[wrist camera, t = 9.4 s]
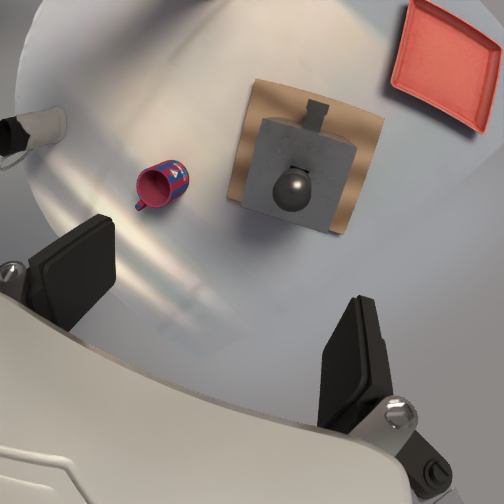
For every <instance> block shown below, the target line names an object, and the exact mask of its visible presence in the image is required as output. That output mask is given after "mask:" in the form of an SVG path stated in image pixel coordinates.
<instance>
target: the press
mask: <svg viewBox="0 0 504 504" xmlns="http://www.w3.org/2000/svg"><path fill="white" fill-rule="evenodd" d="M329 106H330V105H328V104H324V103H321V102H318V101H315V100H311V99H308V103H307V106H306V109H307V113H306V116H305V120H304V123H300V122H297V121H293V120H290V119H286V118H282V117H270V118H262V122H261V125H260V129H259V133H258V137H257V141H256V145H255V149H254V153H253V157H252V161H251V165H250V169H249V173H248V177H247V181H246V185H245V189H244V193H243V197H242V201H241V205H240V206H241V207H244V208H247V209H250V210H254V211H257V212H260V213H263V214H267V215H270V216H273V217H276V218H279V219H283V220H286V221H289V222H292V223H295V224H298V225H301V226H304V227H308V228H311V229H314V230H317V231H320V232H323V233H326V234H327V233H328V231H329V228H330V225H331V223H332V220H333V217H334V215H335V212H336V209H337V207H338V204H339V201H340V198H341V195H342V193H343V190H344V187H345V184H346V181H347V178H348V175H349V173H350V170H351V167H352V164H353V161H354V158H355V155H356V152H357V149H358V147H356V146H355V145H354V144H353V143H351V142H350V141H349V140H348V139H347V138H345V137H343V136H341V135H338V134H335V133H332V132H329V131H326V130H323V129H321V127H322V124H323V120H324V117H325V115H327V113H328V110H329ZM290 166H294V167H298V168H301V169H304V170H307V171H309V172H308V176H309V177H310V179H311V183H312V190H311V199H310V202H309V203H308V205H307V206H306V207H305V208H304V209H302V210H300V211H297V212H287V211H284V210H282V209H281V208H280V207H278V206H277V204H276V203H275V201H274V199H273V195H272V191H273V187H274V184H275V183H276V181H277V179H278V178H279V176H280V175H281V173H283V172H284V171H285V170H287V169H290Z"/></svg>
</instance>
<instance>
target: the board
mask: <svg viewBox="0 0 504 504" xmlns="http://www.w3.org/2000/svg"><path fill="white" fill-rule="evenodd" d="M308 99H311V100H315V101H318V102H321V103H324V104H328V105H330V106H329V110H328V113H327V115H325V117H324V120H323V124H322V127H321V129H323V130H326V131H329V132H332V133H335V134H338V135H341V136H343V137H345V138H347V139H348V140H349V141H350V142H351V143H353V144H354V145H355V146H356V147H358V149H357V152H356V155H355V158H354V161H353V164H352V167H351V170H350V173H349V175H348V178H347V181H346V184H345V187H344V190H343V193H342V195H341V198H340V201H339V204H338V207H337V209H336V212H335V215H334V217H333V220H332V223H331V225H330V228H329V230H331V231H334V232H337V233H340V234H343V235H344V232H345V230H346V227H347V225H348V222H349V220H350V217H351V215H352V212H353V210H354V207H355V204H356V202H357V199H358V196H359V194H360V191H361V188H362V185H363V183H364V180H365V177H366V174H367V171H368V169H369V166H370V163H371V160H372V157H373V154H374V151H375V148H376V145H377V142H378V139H379V136H380V133H381V129H382V126H383V123H384V120H385V118H383V117H380V116H378V115H375V114H373V113H370V112H368V111H365V110H362V109H360V108H357V107H354V106H351V105H349V104H346V103H343V102H340V101H337V100H334V99H331V98H328V97H324V96H321V95H318V94H315V93H311V92H308V91H304V90H301V89H297V88H293V87H289V86H286V85H282V84H277V83H273V82H269V81H264V80H260V79H255V83H254V87H253V91H252V95H251V99H250V102H249V106H248V110H247V114H246V118H245V122H244V126H243V131H242V135H241V139H240V143H239V147H238V151H237V156H236V160H235V164H234V169H233V173H232V177H231V182H230V186H229V191H228V195H227V198H229V199H233V200H236V201H239V202H241V201H242V197H243V193H244V189H245V185H246V181H247V177H248V173H249V169H250V165H251V161H252V157H253V153H254V149H255V145H256V141H257V137H258V133H259V129H260V125H261V122H262V118H270V117H282V118H286V119H290V120H293V121H297V122H300V123H304V120H305V116H306V113H307V109H306V106H307V103H308Z"/></svg>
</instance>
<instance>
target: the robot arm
mask: <svg viewBox="0 0 504 504" xmlns="http://www.w3.org/2000/svg"><path fill="white" fill-rule="evenodd" d="M28 261H29V265H30V267H29V268H28V269H26V266H25V264H23V263H22V262H19V261H9V262H6V263H3V264H2V265H0V504H464V503H463V501H462V499H461V498H460V496H459V494H458V492H457V490H456V488H453V489H451V487H450V484H451V482H452V470H451V467H450V465H449V464H448V462H447V461H446V460H445V459H444V458H443V457H442V456H441V455H440V454H439V453H438V452H437V451H436V450H435V449H434V448H433V447H432V446H431V445H430V444H429V443H428V442H427V441H426V440H425V439H424V438H423V437H422V436H421V435H420V434H419V433H418V432H417V431H416V430H415V429H416V427H417V425H418V414H417V411H416V409H415V407H414V406H413V405H412V403H411V402H410V401H408V400H407V399H405V398H404V397H401V396H398V395H393V388H392V381H391V374H390V368H389V362H388V356H387V350H386V344H385V341H384V339H382V337H381V332H380V327H379V321H378V316H377V312H376V307H375V302H374V300H373V299H371V298H367V297H364V296H361V295H358V296H357V298H352V299H351V300H350V302H349V304H348V306H347V308H346V310H345V312H344V313H343V316H342V317H341V319H340V321H339V323H338V325H337V327H336V328H335V330H334V332H333V334H332V336H331V337H330V339H329V341H328V343H327V345H326V346H325V348H324V351H323V354H322V368H321V384H320V398H319V410H318V421H317V427H316V426H312V425H308V424H303V423H299V422H295V421H291V420H287V419H283V418H279V417H276V416H272V415H268V414H265V413H261V412H257V411H254V410H251V409H247V408H244V407H240V406H237V405H234V404H231V403H228V402H225V401H222V400H219V399H215V398H213V397H210V396H207V395H204V394H201V393H199V392H196V391H193V390H190V389H188V388H185V387H183V386H180V385H177V384H175V383H172V382H169V381H167V380H165V379H162V378H160V377H158V376H155V375H153V374H151V373H148V372H146V371H143V370H142V369H139V368H137V367H135V366H132V365H131V364H128V363H126V362H124V361H122V360H120V359H118V358H116V357H114V356H112V355H110V354H108V353H106V352H104V351H102V350H100V349H98V348H96V347H94V346H92V345H90V344H88V343H86V342H85V341H83V340H81V339H79V338H77V337H76V336H74V335H72V334H70V333H68V332H69V331H70V330H71V329H72V328H73V327H74V326H75V324H76V323H77V322H78V321H79V320H80V319H81V318H82V317H83V316H84V315H85V314H86V313H87V312H88V311H89V310H90V309H91V308H92V307H93V305H94V304H95V303H96V302H97V301H98V300H99V299H100V298H101V297H102V296H103V295H104V294H105V293H106V292H107V291H108V290H109V289H110V288H111V287H112V286H113V285H114V283H115V281H116V266H115V224H114V223H113V222H112V219H111V218H110V217H107V216H104V215H101V214H97V215H95V216H93V217H92V218H90V219H89V220H87V221H85V222H84V223H82V224H80V225H79V226H77V227H76V228H74V229H73V230H71V231H69V232H68V233H66V234H65V235H63V236H62V237H60V238H59V239H57V240H56V241H54V242H53V243H51V244H50V245H48V246H47V247H46V248H44V249H43V250H41V251H40V252H38V253H37V254H36V255H34V256H33V257H31V258H30V259H29V260H28Z"/></svg>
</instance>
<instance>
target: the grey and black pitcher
mask: <svg viewBox="0 0 504 504" xmlns="http://www.w3.org/2000/svg"><path fill="white" fill-rule="evenodd" d="M66 128H67V120H66V115H65V113H64V111H63V110H62V109H61V108H60V107H57V106H55V107H52V108H51V109H48V110H42V111H36V112H31V113H25V114H20V115H16V116H15V117H10V118H7V119H2V120H1V121H0V155H1V156H3V158H2V159H1V160H0V166H1V163H2V162H3V160H4V159H6V158H7V157H9V156H11V155H14V154H15V153H17V152H20V151H26V150H28V151H27V152H26V153H25V154H24V155H23V156H22V157H21V158H20V159H18V160H17V161H16V162H14V163H13V164H11V165H9V166H7V167H4V168H0V170H1V171H4V170H7V169H9V168H11V167H13V166H15V165H16V164H18V163H19V162H20V161H22V160H23V159H24V158H25V157H26V156H27V155H28V154H29V153H30V152H31V151H32V150H33V149H34V148H36V147H39V146H42V145H46V144H49V143H52V144H57V143H59V142H60V141H61V140H62V139H63V137H64V135H65V133H66Z"/></svg>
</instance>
